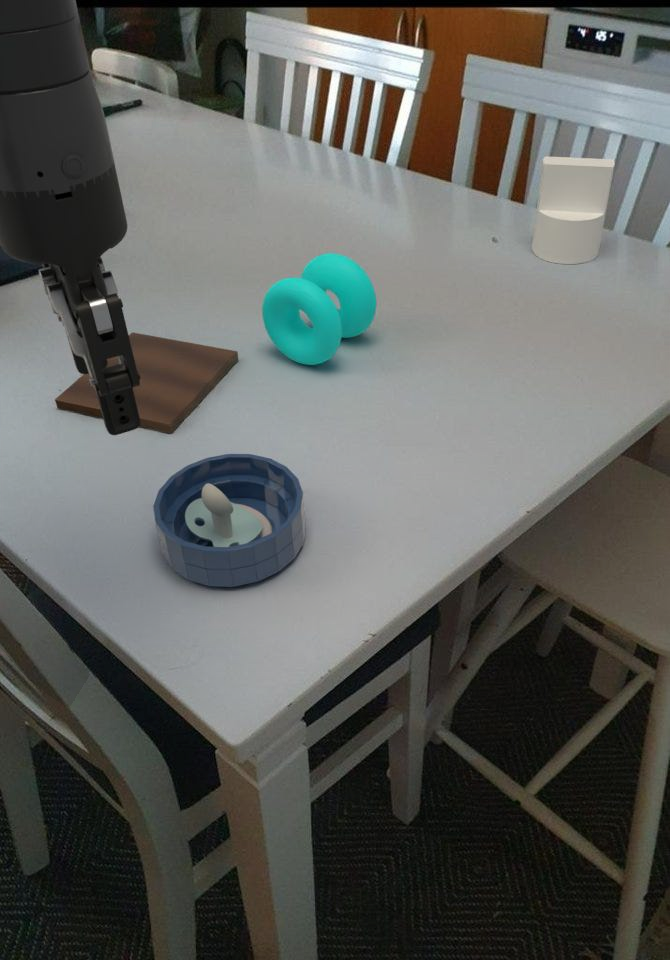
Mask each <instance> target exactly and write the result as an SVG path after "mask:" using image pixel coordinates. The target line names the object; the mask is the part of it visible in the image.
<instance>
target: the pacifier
mask: <svg viewBox="0 0 670 960" xmlns="http://www.w3.org/2000/svg"><path fill="white" fill-rule="evenodd" d="M201 495H202V498H200V499H197V500H195V501H193V502H192V503H191V504H190V505H189V506H188V507H187V509H186V512H185V520H186V524H187V526H188V528H189V530H190V531H191V532H192V533H193V534H194V535H195V536H197V537H198V538H200V539H203V540H206V541H210V542H212V543H213V546H214V547H231V546H236V545H241V544H246V543H251V542H253V541H255V540H258V539H260V538H262V537H264V536H266V535H269V534H271V533H272V527H271V525H270V522H269V521H268V519H267V518H266V517H265V516H264V515H263V514H261V513H260V512H259V511H257V510H255V509H253V508H251V507H248V506H245V505H241V504H234V503H232V502H230V501H229V500H228V498H227V497H226V496H225V495H224V494H223V493H222V492H221V491H220V490H219V489H218V488H217V487H215V486H214V485H212V484H209V483H208V484H206V485H205V486H204V487H203V489H202V494H201ZM197 520H202V521H203V522H204V523H205V524H204V525H203V526H198V525H196V524H195V521H197Z"/></svg>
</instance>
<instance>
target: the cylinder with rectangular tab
mask: <svg viewBox="0 0 670 960" xmlns="http://www.w3.org/2000/svg"><path fill="white" fill-rule="evenodd" d="M615 163H616V162H615V160H614V159H612V158H594V157H593V158H591V157H589V158H588V157H568V156H567V157H566V156H544V157H543V159H542V163H541V171H540V180H539V187H538V194H537V201H536V202H537V203H536V211H535V218H534V227H533V234H532V243H531V252H532V253H533V254H534V256H535V257H537V258H539V259H541V260H543V261H546V262H549V263H554V264H559V265H580V264H586V263H588V262H592V261H594V260H595V259H596V258H597V257H598V256H599V252H600V247H601V241H602V236H603V231H604V224H605V220H606V215H607V210H608V209H607V208H608V205H609V204H608V203H609V198H610V192H611V187H612V182H613V175H614V171H615V165H616V164H615Z"/></svg>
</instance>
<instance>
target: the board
mask: <svg viewBox="0 0 670 960" xmlns="http://www.w3.org/2000/svg"><path fill="white" fill-rule="evenodd" d="M128 335H129V339H130V344H131V348H132V352H133V356H134V360H135V364H136V369H137V372H139V375H140V380H139V381H140V386H137V387H133V392H134V396H135V400H136V405H137V409H138V413H139V417H140V422H141V423H140V426H139V427H138V428H144V429H148V430H152V431H157V432H161V433H162V432H163V433H166V434H171V435H172V434H173V433H174V432H175V431H176V429H178V427H179V426H180V425H181V424H182V423H183V422H184V421H185V420H186V419H187V418H188V416H189V415H190V414H191V413H193V411H194V410H195V409H196V407H197V406H199V405H200V403H202V401H203V400H204V399H205V398H206V397H207V396H208V395H209V393H210V392H211V391H212V390H213V389H214V388H215V387H216V386H217V385H218V383H219V382H220V381H221V380H222V379H223V378H224V377H225V376H226V375H227V374H228V373H229V372H230V370H231V369H232V368H234V366H235V365H236V364H237V363H238V362H239V351H237V350H232V349H226V348H221V347H216V346H211V345H205V344H199V343H193V342H190V341H189V342H188V341H183V340H178V339H172V338H166V337H160V336H154V335H151V334H150V335H149V334H144V333H138V332H131V333H129V334H128ZM107 362H108V364H107V367H111V366H115V365H118V364H119V362H118V359H117V356H116V357H113V358H109V359H107ZM107 367H106V368H107ZM89 378H91V377H90V375H89V373H88V374H81V376H80V377H78V378H77V379H76V381H74V382H73V383H72V384H71V385H69V386H68V387H67V388H66V389H65V390H63V392H62V393H60V394H59V395H58V396H57V397H56V398H55V399H54V401H55V405H56V409H58V410H62V411H68V412H71V413H76V414H79V415H85V416H90V417H94V418H99V419H103V416H102V413H101V409H100V405H99V402H98V398H97V394H96V390H95V388H94V386H91V383H90V380H89Z"/></svg>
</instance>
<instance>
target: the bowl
mask: <svg viewBox="0 0 670 960" xmlns="http://www.w3.org/2000/svg"><path fill="white" fill-rule="evenodd" d="M208 483H209V484H212V485H214V486H215V487H217V488H218V489H219V490H220V491H221V492H222V493H223V494H224V495H225V496H226V497H227V498H228V500H229V501H230V502H232V503H234V504H241V505H245V506H248V507H251V508H253V509H255V510H257V511H259V512H260V513H261V514H263V515H264V516H265V517H266V518H267V519H268V521H269V522H270V525H271V527H272V533H271V534H269V535H266V536H264V537H262V538H260V539H258V540H255V541H253V542H251V543H246V544H241V545H236V546H231V547H214V546H213V543H212V542H210V541H206V540H203V539H200V538H198V537H197V536H195V535H194V534H193V533H192V532H191V531H190V530H189V528H188V526H187V524H186V520H185V512H186V509H187V507H188V506H189V505H190V504H191V503H192V502H193V501H195V500H197V499H200V498H202V495H201V494H202V489H203V487H204V486H205V485H206V484H208ZM154 499H155V500H154V502H153V505H152V508H153V516H154V523H155V528H156V531H157V535H158V539H159V543H160V548H161V551H162V555H163V558H164V560H165V561H166V562H167V564H168V565H169V566H170V568H171V570H173V571H174V572H176V573H177V574H179V575H180V576H181V577H183V578H184V579H186V580H188V581H190V582H194V583H198V584H201V585H204V586H208V587H219V588H220V587H222V588H223V587H225V588H229V587H230V588H231V587H232V588H233V587H238V586H243V585H249V584H253V583H257V582H260V581H262V580H264V579H266V578H269V577H270V576H273V575H275V574H277V573H278V572H280V571H282V570H283V569H284V568H285V567H286V566H287V565H289V564H290V563H291V562H292V561H293V560H294V559H295V558H296V557H297V556H298V553H299V552H300V550H301V548H302V547H303V545H304V543H305V536H306V528H307V527H306V514H305V503H304V502H305V501H304V492H303V489H302V486H301V483H300V480H299V478H298V477H297V476H296V475H295V473H293V472H292V471H291V470H290V469H289V467H288V466H286V465H284V464H282V463H280V462H278V461H276V460H274V459H273V458H269V457H266V456H263V455H256V454H253V453H251V454H250V453H225V454H220V455H214V456H208V457H205V458H203V459H201V460H198V461H195V462H193V463H190V464H187V465H186V466H184V467H183V468H181V469H180V470H178V471H177V472H175V473H174V474H172V475H171V476H170V477H168V479H167V480H166V481H165V482H164V484H163V485H162V486H161V487H160V488H159V489H158V491H157V494H156V496H155V498H154ZM195 524H196V525H198V526H203V525H204V524H205V523H204V522H203V521H202V520H197V521H195Z"/></svg>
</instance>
